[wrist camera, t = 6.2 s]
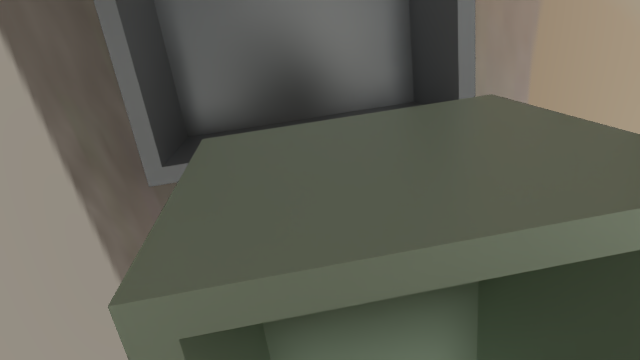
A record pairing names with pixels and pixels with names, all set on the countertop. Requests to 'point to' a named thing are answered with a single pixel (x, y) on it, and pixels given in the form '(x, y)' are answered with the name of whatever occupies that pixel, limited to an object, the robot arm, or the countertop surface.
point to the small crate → (397, 242)
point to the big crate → (277, 65)
